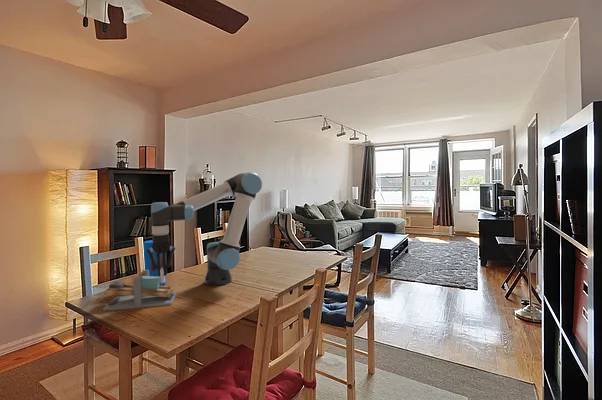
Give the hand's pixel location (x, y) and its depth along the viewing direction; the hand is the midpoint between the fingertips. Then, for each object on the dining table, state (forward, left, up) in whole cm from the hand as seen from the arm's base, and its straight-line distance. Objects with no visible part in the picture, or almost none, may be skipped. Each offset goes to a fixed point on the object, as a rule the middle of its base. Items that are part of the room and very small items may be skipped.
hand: (162, 282), depth 157 cm
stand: (+9, +3, -9) cm, 13 cm away
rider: (+6, +2, -3) cm, 7 cm away
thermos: (+16, -23, -9) cm, 30 cm away
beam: (+10, +3, -4) cm, 11 cm away
